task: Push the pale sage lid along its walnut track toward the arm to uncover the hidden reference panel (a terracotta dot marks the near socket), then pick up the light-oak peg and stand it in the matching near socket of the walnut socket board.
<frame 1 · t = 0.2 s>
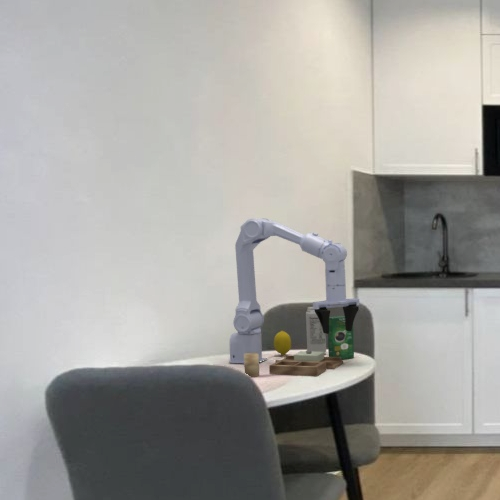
hand: (337, 332, 210), 10 cm above the table, fingers open, 7 cm apart
socket board: (298, 372, 203), on the table
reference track: (314, 365, 212), on the table
energy drink can: (316, 355, 230), on the table
lemon: (283, 356, 230), on the table
coffee box: (341, 359, 220), on the table
oak peg: (252, 375, 201), on the table
lid: (309, 355, 213), point 3 cm above the table, slide at 0.0 cm
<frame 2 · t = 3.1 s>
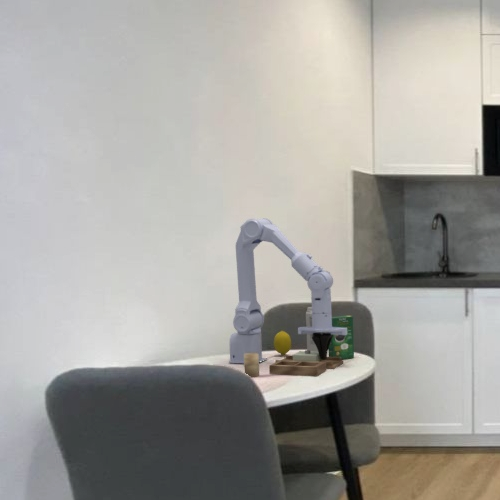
hand: (323, 359, 211), 2 cm above the table, fingers closed
lid: (307, 355, 213), point 3 cm above the table, slide at 0.4 cm, touching gripper
everything else where it was.
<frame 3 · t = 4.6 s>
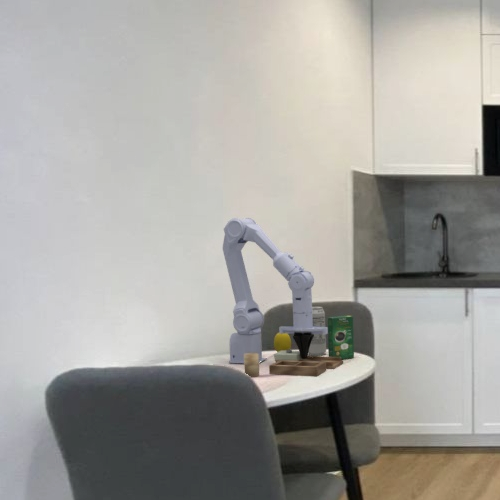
hand: (304, 358, 214), 2 cm above the table, fingers closed
lid: (289, 354, 216), point 3 cm above the table, slide at 6.3 cm, touching gripper
everything else where it was.
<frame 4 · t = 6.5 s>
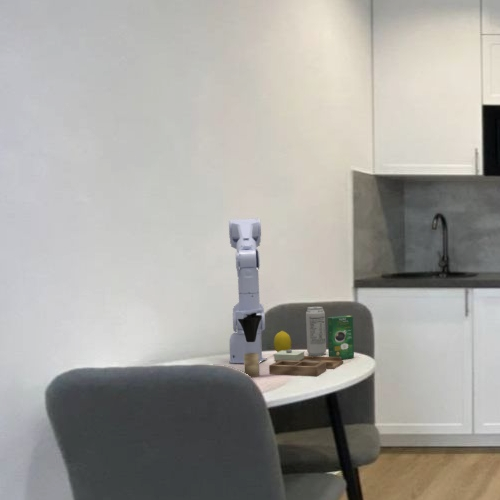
hand: (250, 341, 201), 9 cm above the table, fingers closed
lid: (289, 354, 216), point 3 cm above the table, slide at 6.3 cm
everything else where it was.
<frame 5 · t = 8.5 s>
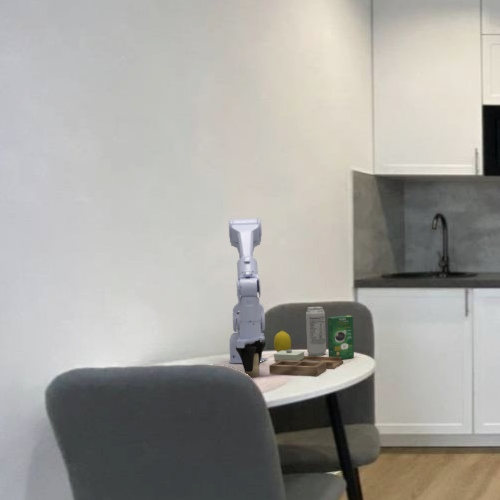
hand: (251, 369, 201), 2 cm above the table, fingers closed on oak peg, 4 cm apart
oak peg: (252, 375, 201), on the table, touching gripper
everything else where it was.
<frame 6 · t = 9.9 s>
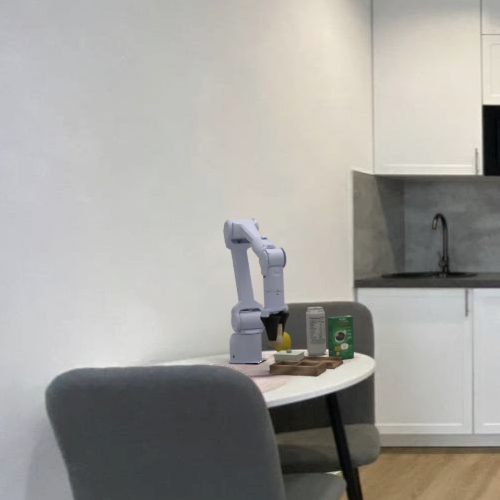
hand: (275, 339, 203), 9 cm above the table, fingers closed on oak peg, 4 cm apart
oak peg: (275, 345, 203), point 8 cm above the table, touching gripper
everything else where it was.
when the fingers open (3 cm above the table, at t = 11.6 s): oak peg drops 2 cm, resting in socket board.
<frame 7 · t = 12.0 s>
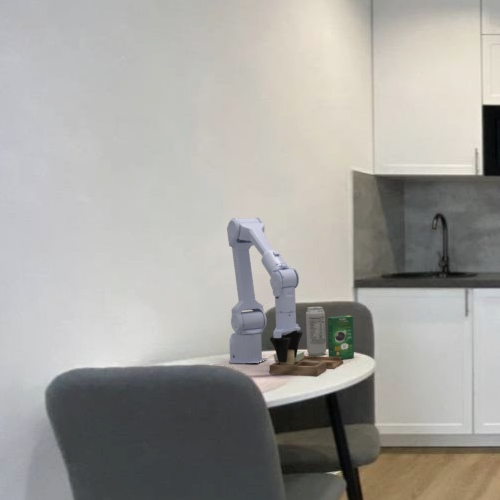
hand: (287, 359, 204), 3 cm above the table, fingers open, 7 cm apart
oak peg: (287, 371, 204), resting in socket board
everything else where it was.
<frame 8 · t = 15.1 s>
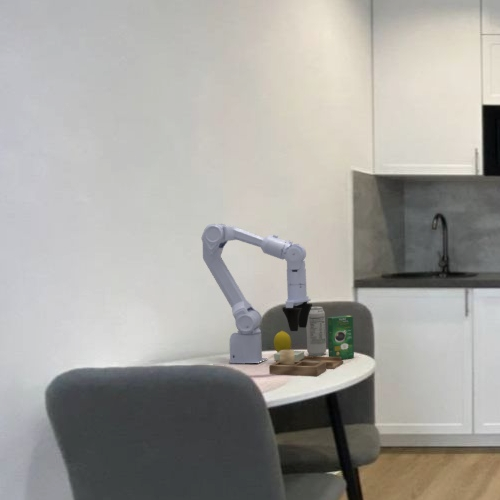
hand: (298, 329, 218), 10 cm above the table, fingers open, 7 cm apart
nothing on the table moved.
at the end: lid slide at 6.3 cm; oak peg 0.1 cm from the target spot on the socket board, point 0.0 cm above the socket board's base; oak peg tilted 0° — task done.
